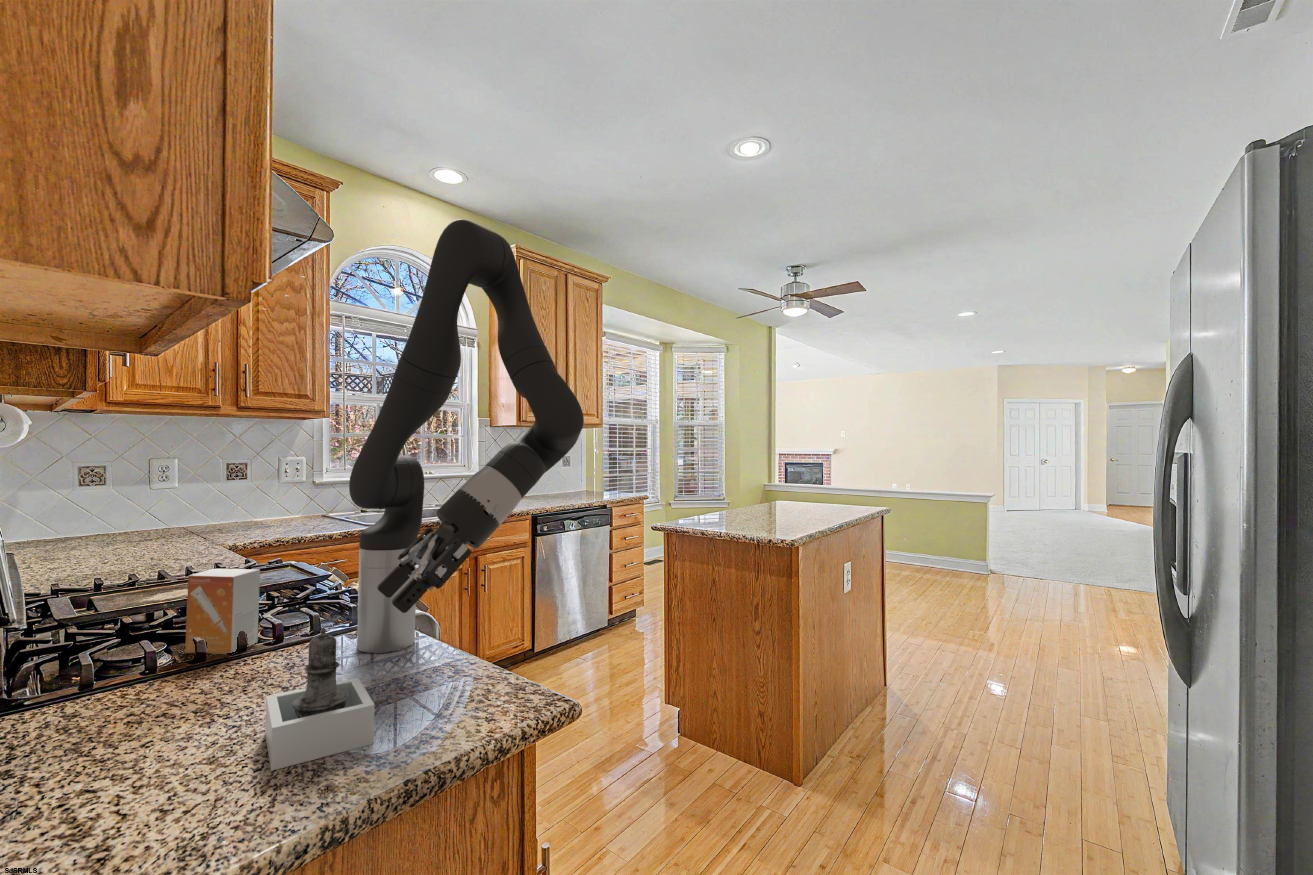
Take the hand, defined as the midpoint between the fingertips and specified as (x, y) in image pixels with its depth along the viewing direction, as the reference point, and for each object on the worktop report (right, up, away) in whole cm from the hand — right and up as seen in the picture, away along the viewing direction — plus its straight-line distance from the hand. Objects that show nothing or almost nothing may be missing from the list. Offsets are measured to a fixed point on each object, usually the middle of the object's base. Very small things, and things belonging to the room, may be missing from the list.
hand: (389, 600), depth 74 cm
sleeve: (-6, -15, -5) cm, 17 cm away
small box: (-40, -16, +26) cm, 50 cm away
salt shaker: (-6, -14, -5) cm, 16 cm away
